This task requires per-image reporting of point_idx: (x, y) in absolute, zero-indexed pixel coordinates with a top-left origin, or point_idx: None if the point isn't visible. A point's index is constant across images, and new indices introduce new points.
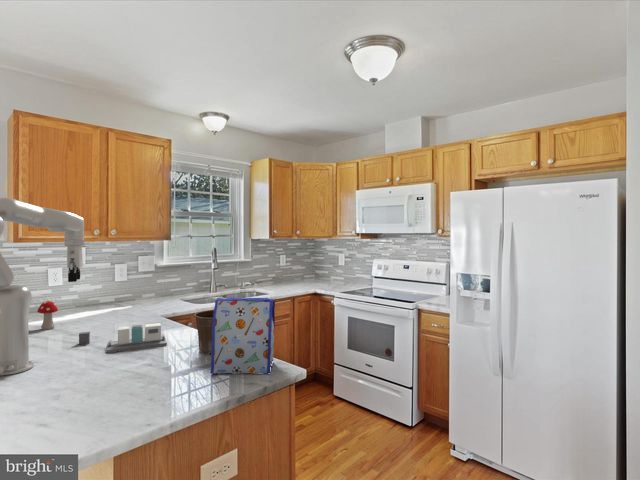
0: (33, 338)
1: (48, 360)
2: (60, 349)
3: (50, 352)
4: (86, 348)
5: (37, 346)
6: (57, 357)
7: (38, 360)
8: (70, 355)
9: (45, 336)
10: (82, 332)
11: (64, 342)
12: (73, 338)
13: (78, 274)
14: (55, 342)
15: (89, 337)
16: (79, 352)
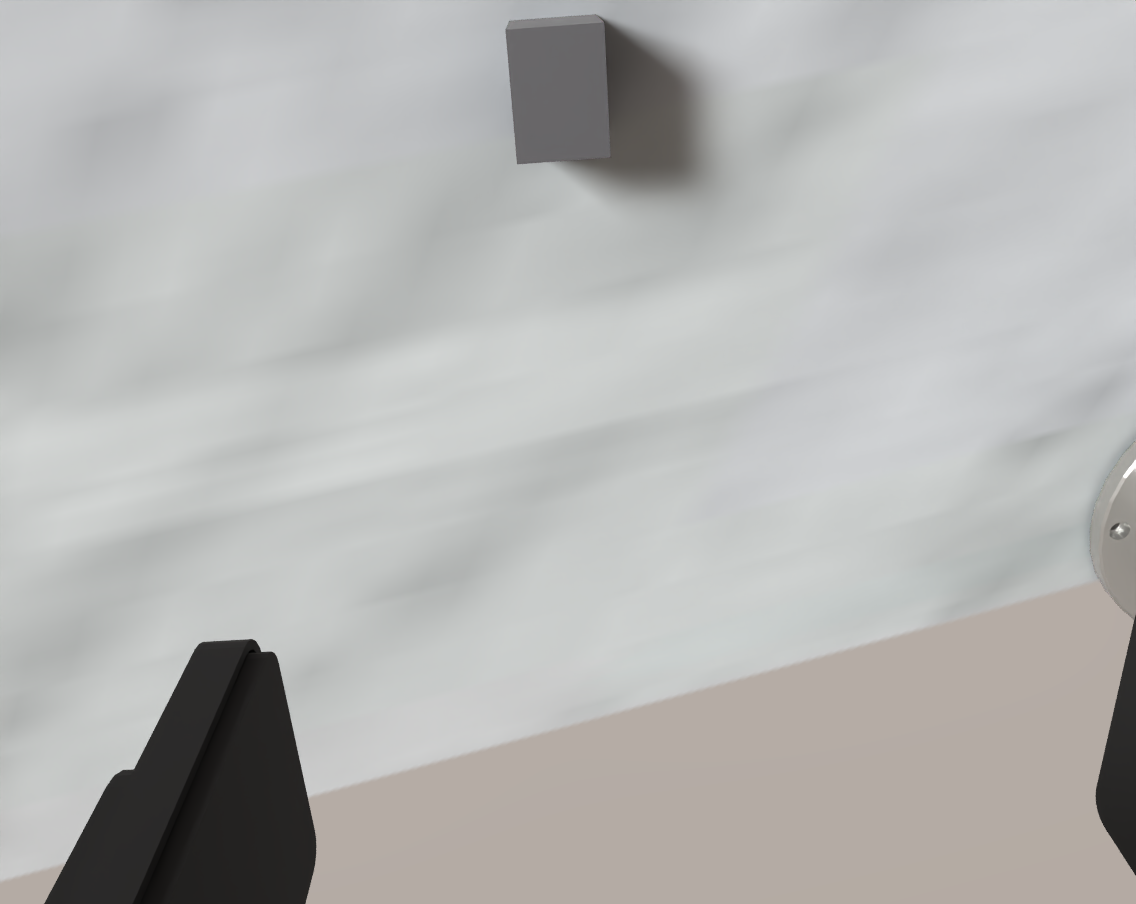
0: (123, 659)
1: (1108, 303)
2: (721, 293)
3: (800, 361)
4: (819, 4)
5: (489, 537)
6: (1045, 246)
7: (1050, 391)
8: (1043, 130)
9: (56, 579)
10: (515, 130)
11: (409, 325)
12: (235, 269)
13: (224, 848)
14: (375, 417)
15: (557, 21)
16: (967, 54)
